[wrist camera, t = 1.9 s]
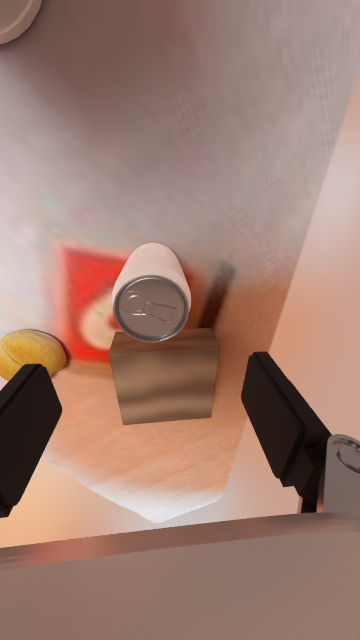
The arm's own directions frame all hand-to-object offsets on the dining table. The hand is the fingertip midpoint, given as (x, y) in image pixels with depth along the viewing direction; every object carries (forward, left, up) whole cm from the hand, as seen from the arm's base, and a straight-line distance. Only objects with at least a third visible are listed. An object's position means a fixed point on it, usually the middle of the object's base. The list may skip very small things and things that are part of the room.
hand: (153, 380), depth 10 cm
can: (0, 0, -19) cm, 19 cm away
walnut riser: (+16, +1, -19) cm, 24 cm away
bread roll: (+12, -18, -19) cm, 29 cm away
